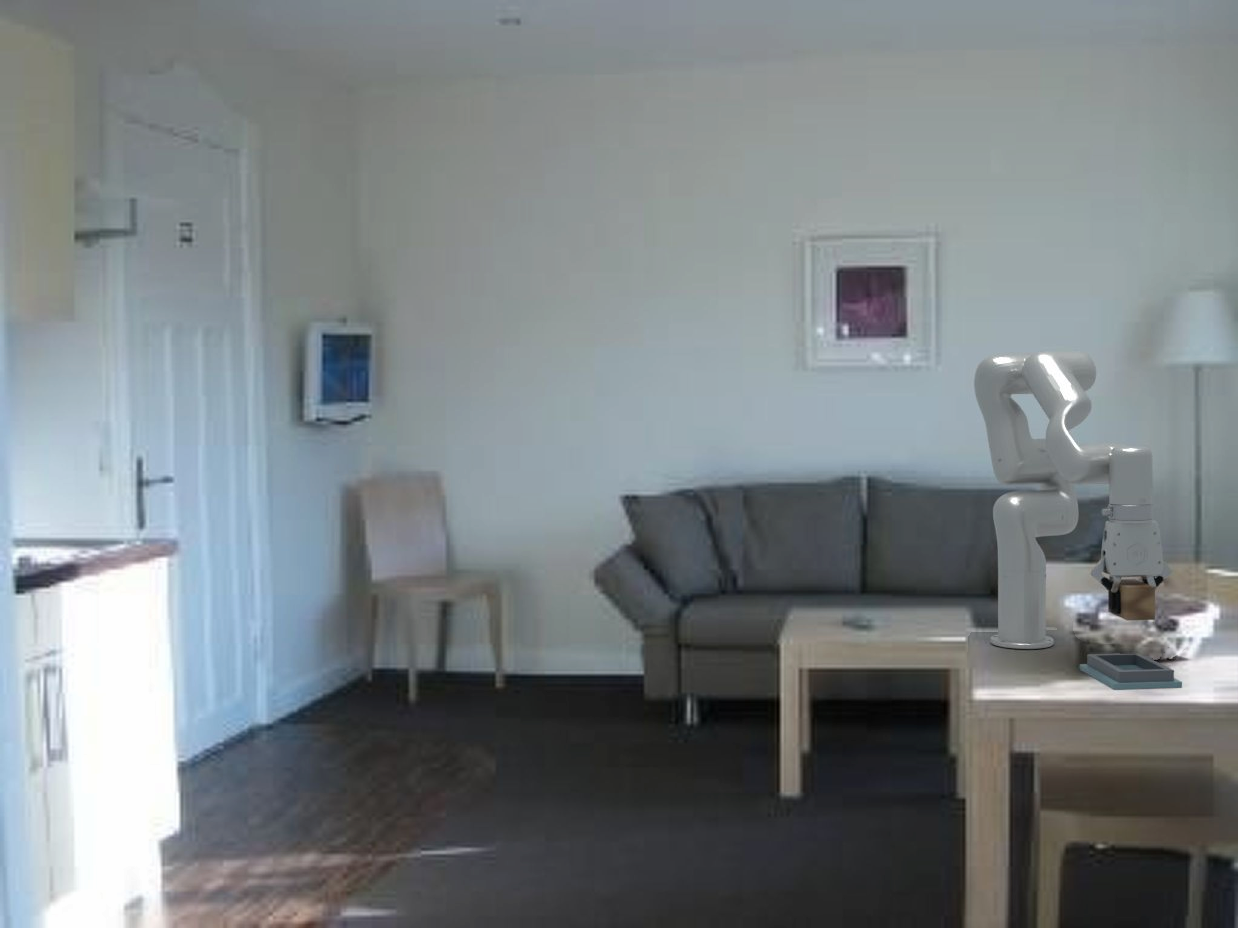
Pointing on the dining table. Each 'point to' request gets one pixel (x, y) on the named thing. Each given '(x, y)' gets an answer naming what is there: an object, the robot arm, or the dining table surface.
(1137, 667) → the cradle
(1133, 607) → the walnut block
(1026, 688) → the dining table surface
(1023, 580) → the robot arm
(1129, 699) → the dining table surface
